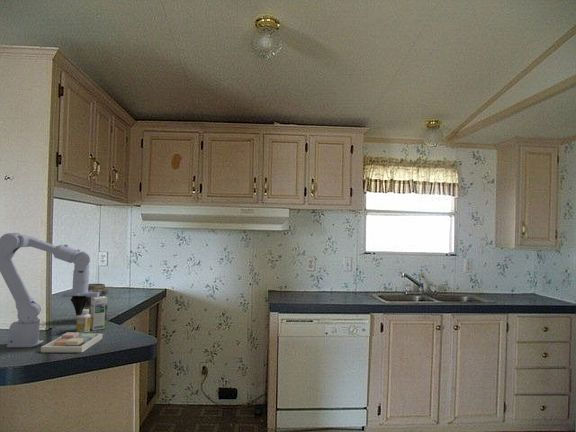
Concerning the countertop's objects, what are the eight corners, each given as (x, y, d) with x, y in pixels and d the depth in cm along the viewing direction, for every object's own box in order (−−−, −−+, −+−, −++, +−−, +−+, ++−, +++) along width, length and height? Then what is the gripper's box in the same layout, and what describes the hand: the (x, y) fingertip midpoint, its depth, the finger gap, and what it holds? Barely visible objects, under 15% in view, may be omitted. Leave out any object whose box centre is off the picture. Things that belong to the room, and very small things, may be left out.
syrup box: (92, 330, 171) (94, 298, 171) (89, 327, 175) (91, 296, 176) (106, 328, 174) (108, 297, 175) (102, 326, 179) (104, 295, 179)
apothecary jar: (107, 317, 197) (109, 282, 198) (105, 322, 186) (107, 285, 187) (81, 318, 193) (83, 282, 194) (77, 323, 182) (79, 286, 183)
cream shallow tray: (40, 352, 139) (40, 346, 139) (66, 338, 158) (66, 333, 158) (81, 352, 140) (82, 347, 140) (102, 338, 159) (102, 333, 159)
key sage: (79, 341, 152) (79, 336, 152) (84, 338, 157) (84, 333, 157) (90, 341, 153) (90, 336, 153) (95, 338, 157) (95, 333, 157)
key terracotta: (53, 347, 144) (54, 342, 144) (59, 343, 148) (60, 339, 148) (65, 347, 144) (66, 342, 144) (71, 343, 148) (71, 339, 148)
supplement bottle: (86, 329, 172) (87, 307, 173) (91, 331, 169) (93, 309, 169) (73, 331, 168) (75, 309, 168) (79, 334, 165) (80, 311, 165)
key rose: (61, 339, 149) (61, 335, 149) (67, 336, 154) (67, 332, 154) (73, 339, 150) (73, 335, 150) (78, 336, 154) (78, 332, 154)
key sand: (65, 346, 141) (65, 341, 141) (71, 342, 146) (71, 338, 146) (77, 346, 142) (78, 341, 142) (83, 342, 146) (83, 338, 146)
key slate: (72, 345, 147) (72, 340, 147) (77, 341, 151) (78, 337, 151) (84, 345, 147) (84, 340, 147) (89, 341, 152) (89, 337, 152)
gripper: (57, 282, 151) (55, 316, 151) (94, 283, 152) (93, 317, 152) (66, 280, 158) (64, 313, 158) (102, 280, 160) (100, 313, 159)
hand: (78, 314), depth 155 cm, fingers closed
